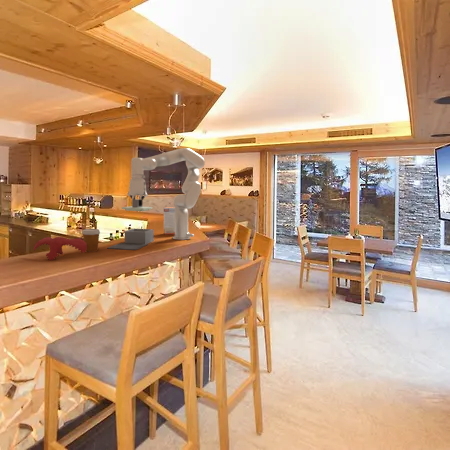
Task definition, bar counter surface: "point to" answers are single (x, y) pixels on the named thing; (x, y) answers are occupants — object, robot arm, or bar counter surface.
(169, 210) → the cracker box
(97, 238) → the disposable coffee cup
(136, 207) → the lid
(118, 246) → the mat
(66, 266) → the bar counter surface
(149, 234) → the box
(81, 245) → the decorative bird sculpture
